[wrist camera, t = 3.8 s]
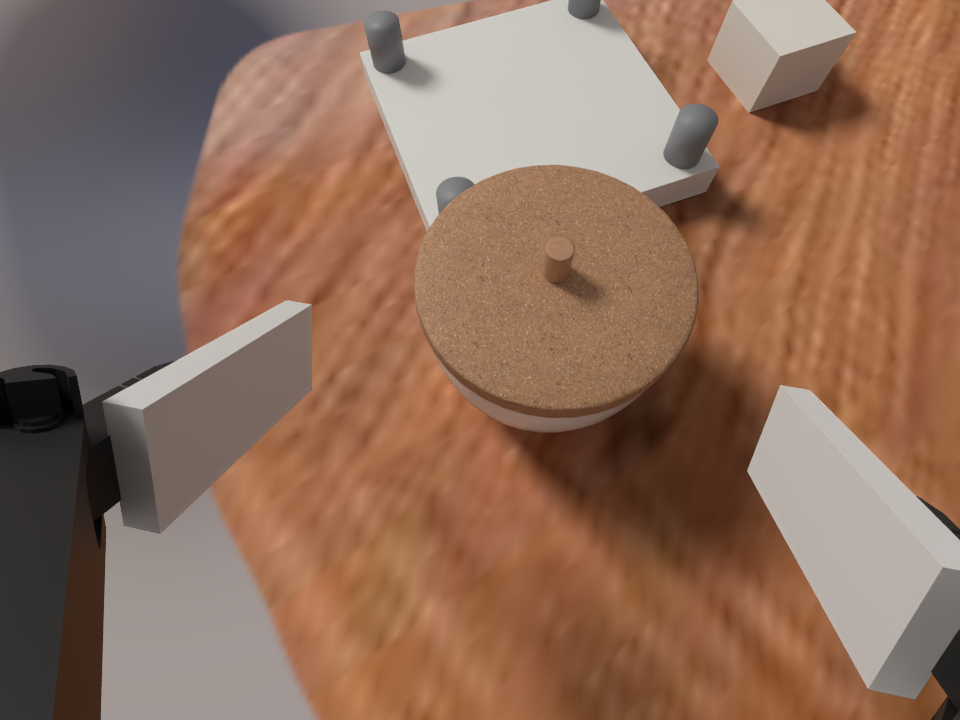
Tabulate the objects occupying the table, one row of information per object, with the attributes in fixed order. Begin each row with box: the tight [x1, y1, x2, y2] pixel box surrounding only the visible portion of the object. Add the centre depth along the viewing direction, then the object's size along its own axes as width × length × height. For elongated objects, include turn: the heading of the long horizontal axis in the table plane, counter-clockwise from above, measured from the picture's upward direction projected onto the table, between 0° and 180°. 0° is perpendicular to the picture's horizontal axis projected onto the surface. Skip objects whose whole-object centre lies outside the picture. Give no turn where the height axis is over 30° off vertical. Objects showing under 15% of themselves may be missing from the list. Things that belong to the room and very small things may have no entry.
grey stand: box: [360, 0, 719, 231], centre depth 31 cm, size 16×16×4 cm
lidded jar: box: [413, 165, 699, 433], centre depth 23 cm, size 11×11×9 cm
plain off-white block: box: [707, 0, 856, 113], centre depth 32 cm, size 5×5×4 cm
